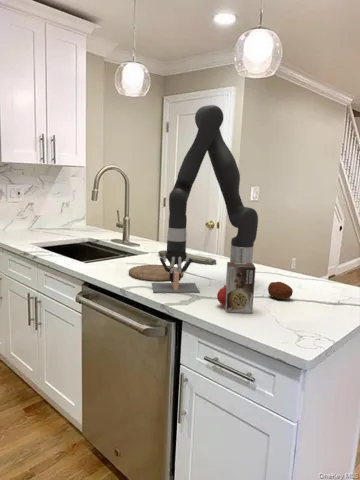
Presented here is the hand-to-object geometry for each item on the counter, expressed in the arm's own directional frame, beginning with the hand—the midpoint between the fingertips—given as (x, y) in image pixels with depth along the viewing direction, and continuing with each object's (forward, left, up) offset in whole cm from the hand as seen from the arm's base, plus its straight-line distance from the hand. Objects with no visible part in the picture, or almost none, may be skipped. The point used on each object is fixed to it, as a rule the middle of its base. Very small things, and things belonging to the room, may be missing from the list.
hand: (174, 281), depth 154 cm
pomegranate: (-15, +22, -3) cm, 27 cm away
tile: (0, 0, -2) cm, 2 cm away
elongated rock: (-13, -54, -4) cm, 55 cm away
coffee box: (-19, +25, -3) cm, 32 cm away
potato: (-39, +13, -3) cm, 41 cm away
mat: (0, 0, -3) cm, 3 cm away
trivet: (+6, -22, -4) cm, 23 cm away
